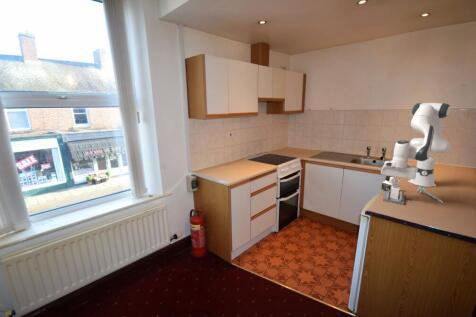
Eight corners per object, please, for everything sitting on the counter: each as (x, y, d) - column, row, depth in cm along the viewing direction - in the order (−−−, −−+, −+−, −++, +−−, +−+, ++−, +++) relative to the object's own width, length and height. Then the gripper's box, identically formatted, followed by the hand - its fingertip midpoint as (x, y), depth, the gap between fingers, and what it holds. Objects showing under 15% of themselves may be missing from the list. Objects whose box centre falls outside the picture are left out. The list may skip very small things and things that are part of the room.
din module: (390, 194, 167) (392, 184, 165) (397, 195, 164) (399, 185, 162) (389, 197, 160) (391, 187, 159) (397, 199, 158) (399, 189, 156)
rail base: (384, 192, 173) (385, 191, 173) (403, 196, 166) (404, 194, 166) (382, 200, 159) (383, 198, 159) (403, 204, 152) (404, 202, 152)
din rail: (387, 191, 172) (388, 189, 171) (401, 193, 167) (401, 191, 166) (386, 199, 158) (386, 196, 157) (401, 202, 153) (401, 199, 152)
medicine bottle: (380, 190, 179) (382, 175, 176) (387, 188, 181) (389, 174, 178) (389, 193, 172) (391, 178, 169) (395, 192, 175) (398, 177, 172)
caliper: (416, 192, 174) (418, 184, 173) (418, 192, 175) (419, 184, 173) (442, 203, 155) (444, 194, 153) (443, 203, 155) (445, 194, 153)
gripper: (418, 165, 153) (414, 184, 156) (382, 161, 165) (380, 179, 168) (418, 167, 148) (414, 187, 151) (382, 162, 160) (379, 181, 163)
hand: (396, 182), depth 160 cm, fingers closed
